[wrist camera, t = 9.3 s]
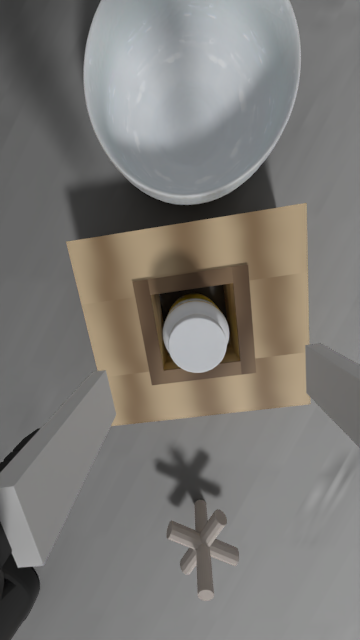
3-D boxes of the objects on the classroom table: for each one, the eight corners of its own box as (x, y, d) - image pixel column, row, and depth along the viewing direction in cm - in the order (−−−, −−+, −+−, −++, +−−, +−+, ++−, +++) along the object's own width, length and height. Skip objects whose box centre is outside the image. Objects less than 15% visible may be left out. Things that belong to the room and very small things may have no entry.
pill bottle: (212, 343, 29) (226, 389, 18) (165, 334, 29) (152, 374, 18) (223, 297, 28) (246, 316, 17) (174, 287, 27) (165, 300, 17)
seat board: (125, 396, 31) (110, 427, 25) (92, 247, 27) (65, 241, 21) (286, 377, 30) (311, 405, 24) (278, 218, 25) (307, 202, 19)
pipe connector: (186, 468, 33) (186, 550, 24) (244, 494, 34) (267, 583, 25) (158, 514, 36) (147, 606, 26) (213, 537, 36) (223, 635, 27)
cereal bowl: (195, -13, 21) (200, -149, 14) (300, 134, 24) (348, 78, 17) (78, 130, 24) (35, 75, 17) (183, 248, 27) (182, 241, 20)
